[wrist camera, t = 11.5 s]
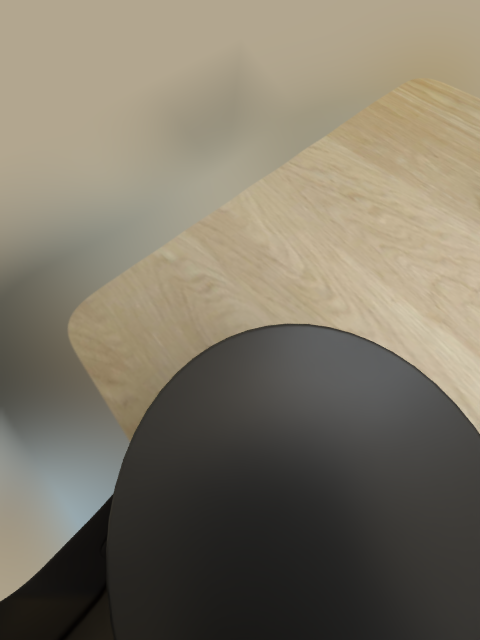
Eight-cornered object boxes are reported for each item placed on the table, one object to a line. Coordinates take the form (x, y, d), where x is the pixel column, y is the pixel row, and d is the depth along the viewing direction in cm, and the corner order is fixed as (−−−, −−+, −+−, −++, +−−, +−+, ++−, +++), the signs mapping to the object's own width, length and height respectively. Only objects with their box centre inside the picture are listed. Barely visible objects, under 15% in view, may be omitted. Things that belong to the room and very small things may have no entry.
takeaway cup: (344, 407, 13) (570, 429, 4) (298, 530, 11) (512, 1157, 2) (244, 354, 15) (230, 274, 5) (189, 456, 13) (13, 619, 3)
